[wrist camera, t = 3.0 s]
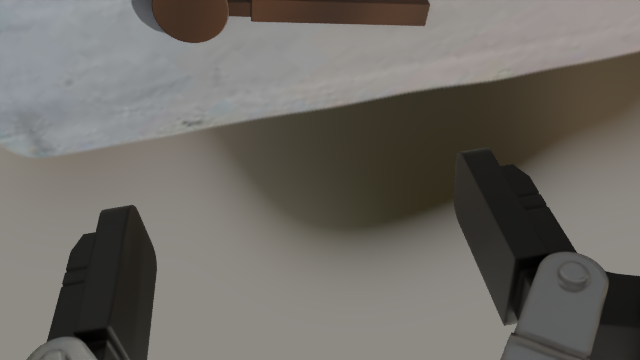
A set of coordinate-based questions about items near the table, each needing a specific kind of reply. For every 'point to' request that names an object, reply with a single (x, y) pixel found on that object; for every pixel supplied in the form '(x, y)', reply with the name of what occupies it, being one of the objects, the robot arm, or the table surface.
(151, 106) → the table surface
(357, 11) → the wooden spoon
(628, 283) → the robot arm
